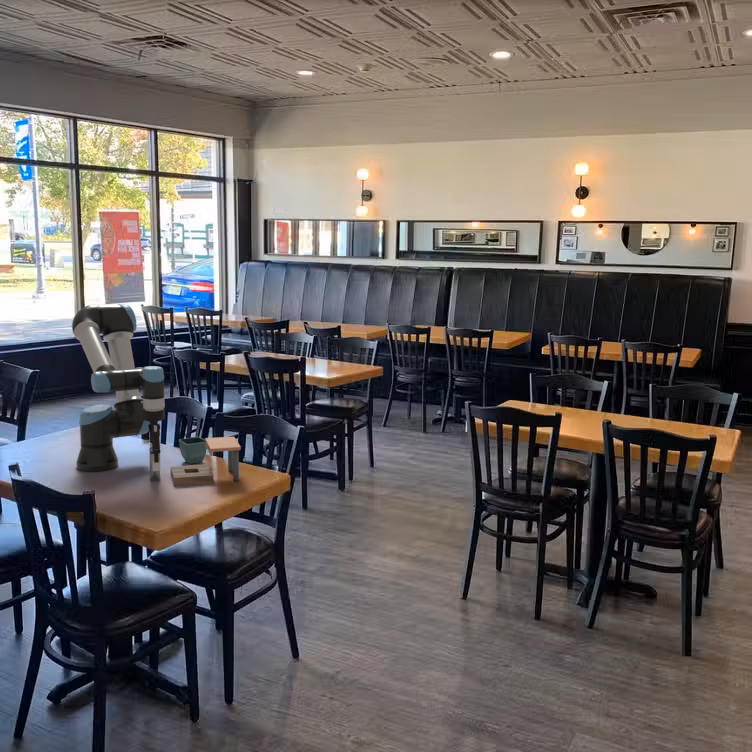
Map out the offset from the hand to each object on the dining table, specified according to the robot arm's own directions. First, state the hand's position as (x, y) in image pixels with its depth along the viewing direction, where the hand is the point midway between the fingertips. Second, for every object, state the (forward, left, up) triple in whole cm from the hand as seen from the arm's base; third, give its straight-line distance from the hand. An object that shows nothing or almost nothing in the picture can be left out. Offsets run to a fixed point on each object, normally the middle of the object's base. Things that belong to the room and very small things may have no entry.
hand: (155, 465), depth 280 cm
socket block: (+2, +13, -5) cm, 14 cm away
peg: (0, 0, -5) cm, 5 cm away
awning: (+2, +24, -5) cm, 25 cm away
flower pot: (-19, +16, -6) cm, 26 cm away
